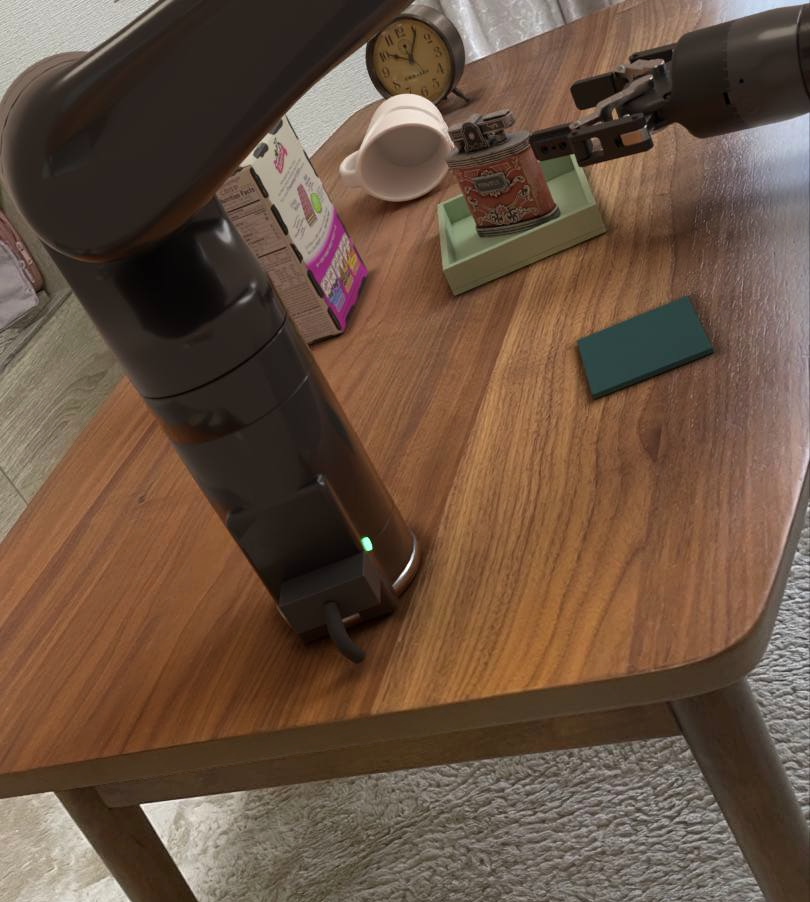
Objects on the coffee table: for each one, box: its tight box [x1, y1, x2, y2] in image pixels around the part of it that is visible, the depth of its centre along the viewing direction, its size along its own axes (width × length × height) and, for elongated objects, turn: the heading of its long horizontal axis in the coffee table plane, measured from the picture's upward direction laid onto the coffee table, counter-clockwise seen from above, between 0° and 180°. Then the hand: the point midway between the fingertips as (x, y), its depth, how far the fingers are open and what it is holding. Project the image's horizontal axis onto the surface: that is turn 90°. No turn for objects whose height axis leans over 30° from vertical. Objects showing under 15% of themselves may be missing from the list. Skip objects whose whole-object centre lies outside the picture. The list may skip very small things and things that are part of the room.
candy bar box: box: [216, 113, 369, 346], centre depth 106 cm, size 11×5×16 cm, turn 168°
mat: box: [576, 295, 715, 400], centre depth 82 cm, size 8×8×1 cm
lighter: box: [445, 108, 561, 238], centre depth 104 cm, size 8×3×10 cm, turn 59°
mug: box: [338, 94, 455, 203], centre depth 126 cm, size 12×9×8 cm
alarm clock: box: [364, 3, 471, 107], centre depth 141 cm, size 11×5×16 cm, turn 67°
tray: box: [436, 154, 607, 297], centre depth 106 cm, size 15×13×2 cm
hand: (554, 121), depth 98 cm, fingers open, 8 cm apart
